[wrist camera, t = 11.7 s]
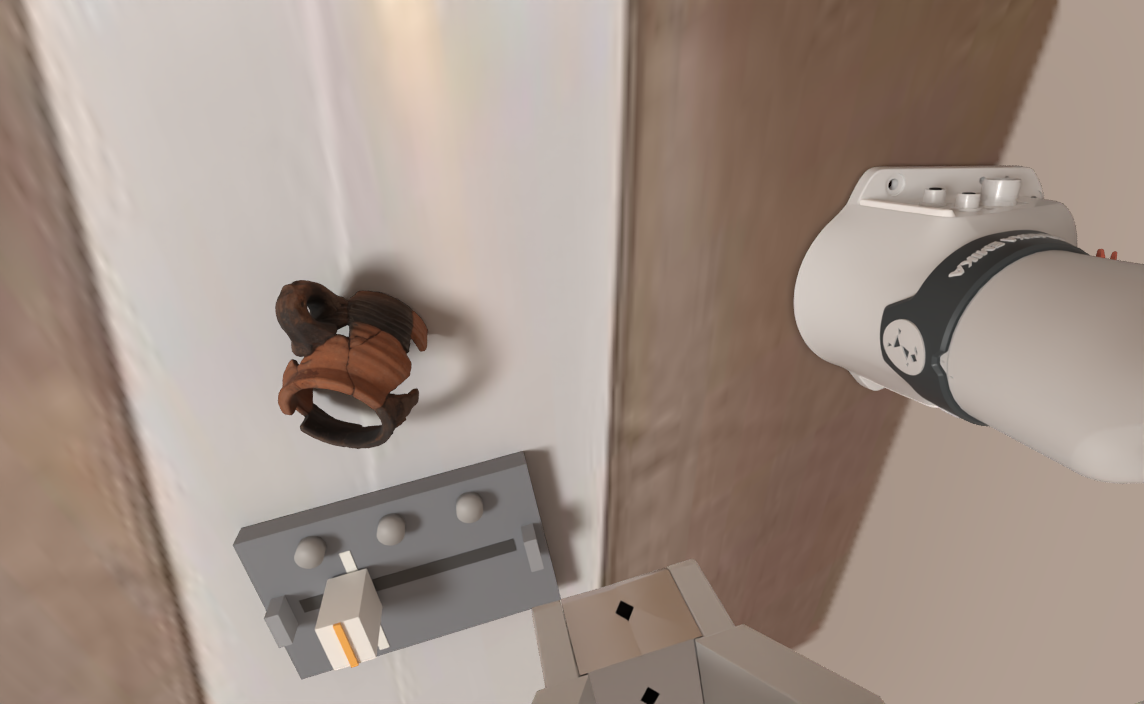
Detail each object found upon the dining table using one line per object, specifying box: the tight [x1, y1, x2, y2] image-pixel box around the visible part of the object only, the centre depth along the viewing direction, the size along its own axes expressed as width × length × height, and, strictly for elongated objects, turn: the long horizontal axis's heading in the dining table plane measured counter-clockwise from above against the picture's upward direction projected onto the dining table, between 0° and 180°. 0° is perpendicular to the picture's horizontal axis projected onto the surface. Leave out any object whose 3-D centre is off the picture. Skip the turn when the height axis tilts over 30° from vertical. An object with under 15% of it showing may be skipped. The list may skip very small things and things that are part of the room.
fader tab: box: [315, 568, 382, 671], centre depth 44 cm, size 3×4×5 cm
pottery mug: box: [275, 280, 428, 449], centre depth 40 cm, size 12×10×8 cm
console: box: [233, 451, 561, 679], centre depth 47 cm, size 22×14×4 cm, turn 101°
